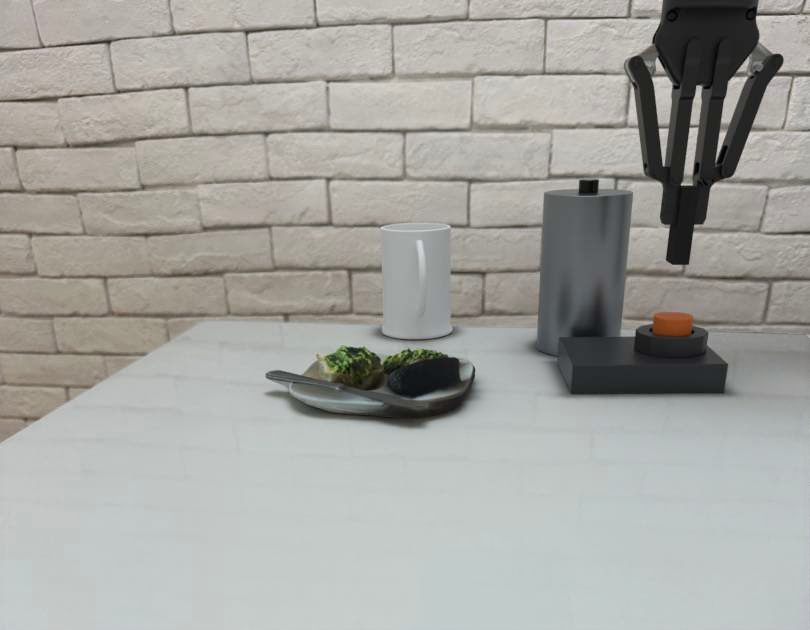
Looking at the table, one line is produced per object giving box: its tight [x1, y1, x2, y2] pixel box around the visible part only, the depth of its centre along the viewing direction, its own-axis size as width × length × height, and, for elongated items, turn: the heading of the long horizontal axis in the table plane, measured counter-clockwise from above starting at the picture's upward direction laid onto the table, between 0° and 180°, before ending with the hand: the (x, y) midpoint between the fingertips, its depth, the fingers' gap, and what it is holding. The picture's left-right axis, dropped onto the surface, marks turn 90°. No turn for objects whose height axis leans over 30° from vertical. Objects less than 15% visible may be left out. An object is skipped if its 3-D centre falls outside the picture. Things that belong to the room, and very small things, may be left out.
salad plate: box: [265, 345, 476, 419], centre depth 80 cm, size 19×18×5 cm
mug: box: [380, 222, 453, 340], centre depth 99 cm, size 12×8×12 cm
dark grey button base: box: [556, 323, 729, 395], centre depth 83 cm, size 14×11×4 cm
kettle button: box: [652, 311, 694, 336], centre depth 82 cm, size 4×4×2 cm
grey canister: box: [536, 178, 634, 357], centre depth 91 cm, size 9×9×17 cm
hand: (677, 262), depth 79 cm, fingers closed
